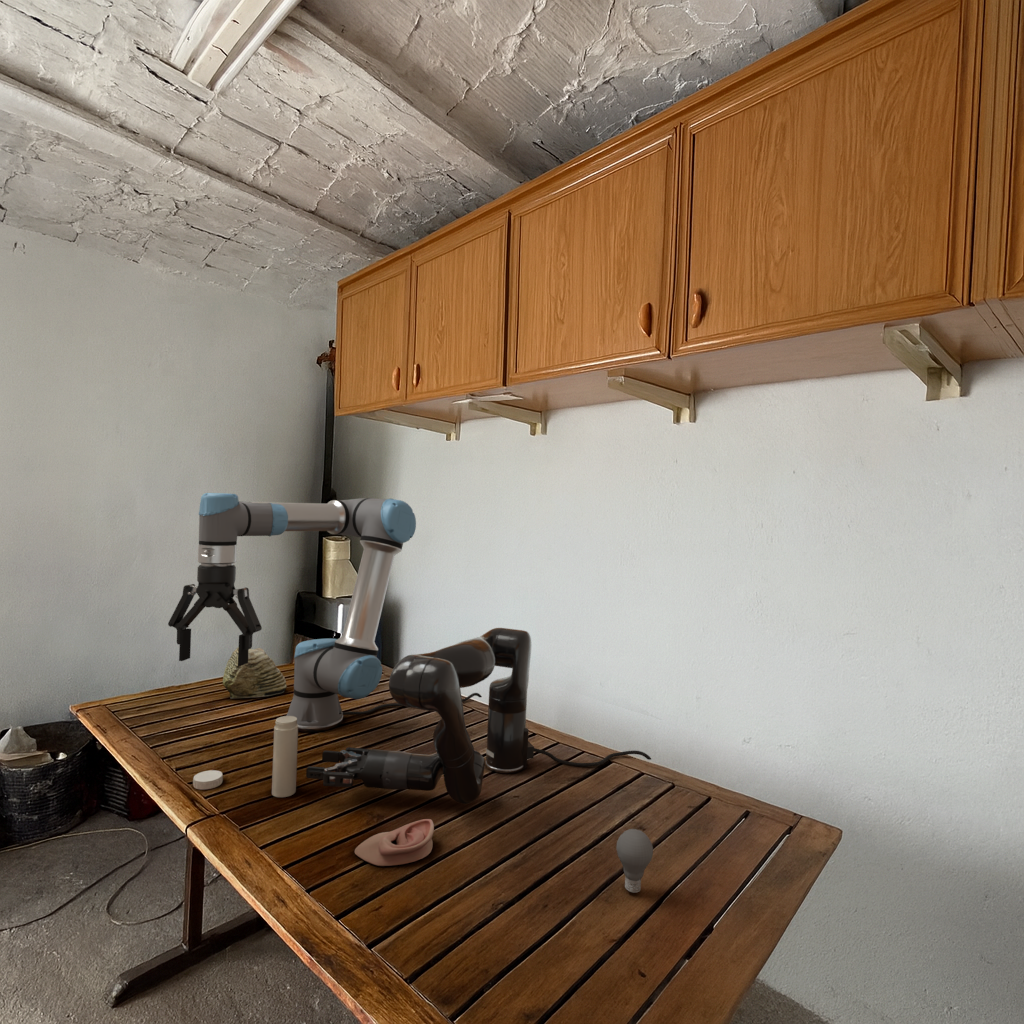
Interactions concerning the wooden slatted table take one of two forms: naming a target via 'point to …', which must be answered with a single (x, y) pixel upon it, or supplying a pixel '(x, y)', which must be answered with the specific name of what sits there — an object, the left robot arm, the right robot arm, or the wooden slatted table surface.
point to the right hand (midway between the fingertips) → (315, 763)
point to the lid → (207, 779)
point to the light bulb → (634, 857)
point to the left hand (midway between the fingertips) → (213, 662)
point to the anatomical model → (398, 844)
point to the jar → (285, 756)
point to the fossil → (253, 676)
